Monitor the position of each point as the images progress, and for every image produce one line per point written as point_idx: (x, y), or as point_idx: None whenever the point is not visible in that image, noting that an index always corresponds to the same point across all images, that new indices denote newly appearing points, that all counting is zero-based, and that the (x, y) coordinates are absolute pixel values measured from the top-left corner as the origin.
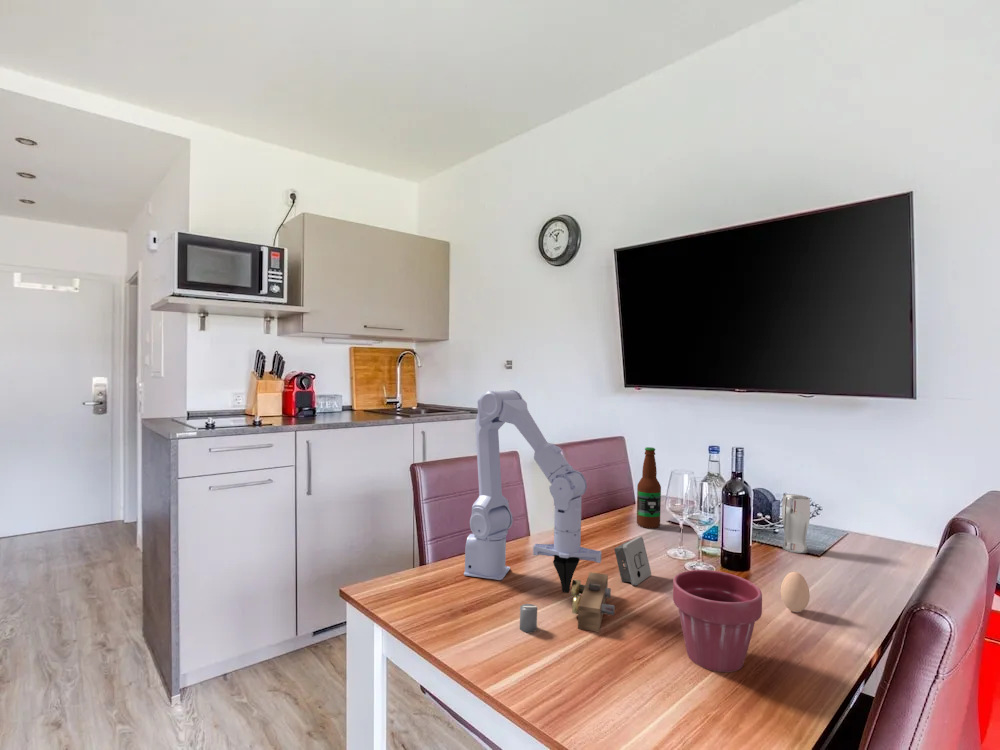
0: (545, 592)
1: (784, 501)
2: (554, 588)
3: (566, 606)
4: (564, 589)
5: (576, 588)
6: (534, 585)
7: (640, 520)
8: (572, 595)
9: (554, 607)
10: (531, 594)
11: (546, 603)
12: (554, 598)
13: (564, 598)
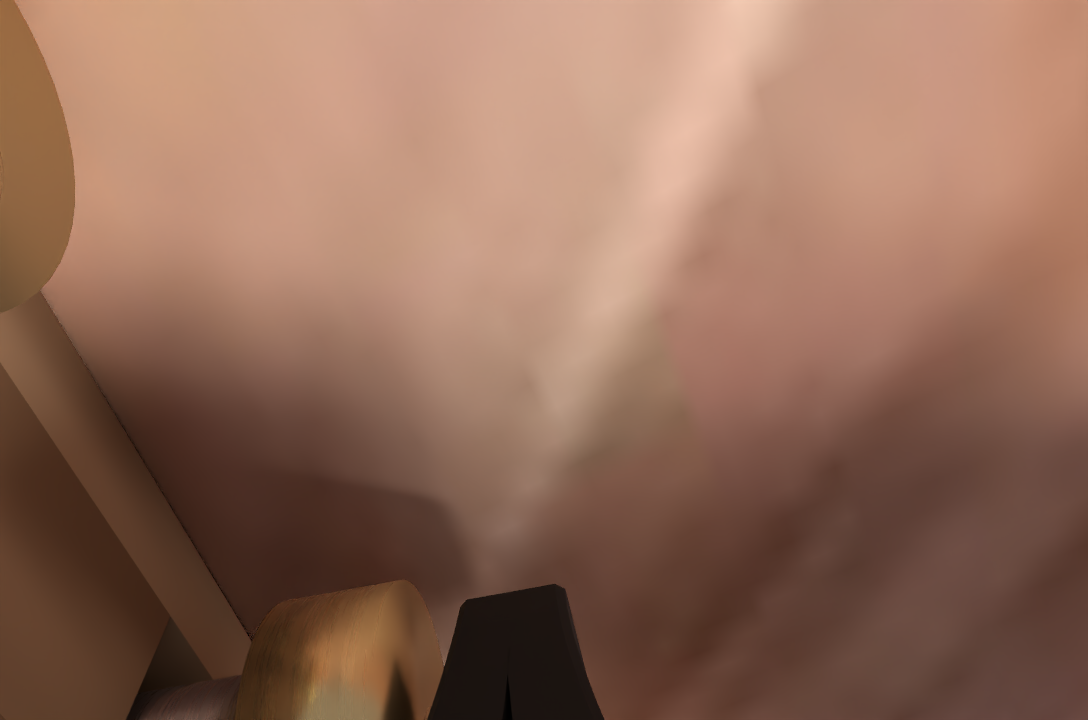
0: (843, 563)
1: None
2: (753, 690)
3: (389, 328)
4: (523, 630)
5: (278, 709)
6: (1022, 649)
7: None
8: (383, 585)
9: (560, 188)
10: (1043, 426)
11: (743, 263)
12: (670, 473)
13: (534, 536)
